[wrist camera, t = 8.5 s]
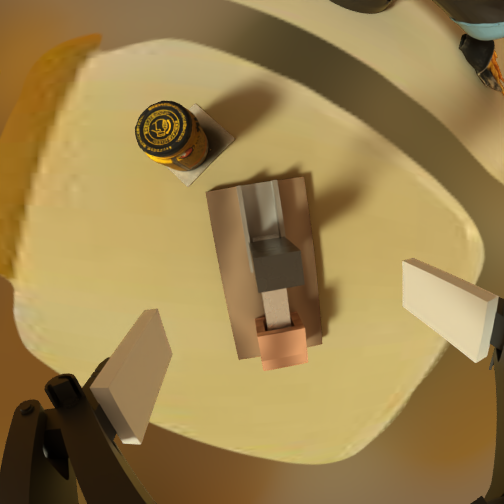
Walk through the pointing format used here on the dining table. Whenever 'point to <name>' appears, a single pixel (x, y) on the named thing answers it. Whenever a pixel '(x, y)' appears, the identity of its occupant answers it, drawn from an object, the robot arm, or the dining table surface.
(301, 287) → the rail slide board
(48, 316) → the dining table surface
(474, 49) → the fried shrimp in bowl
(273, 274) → the mallet
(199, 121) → the condiment
